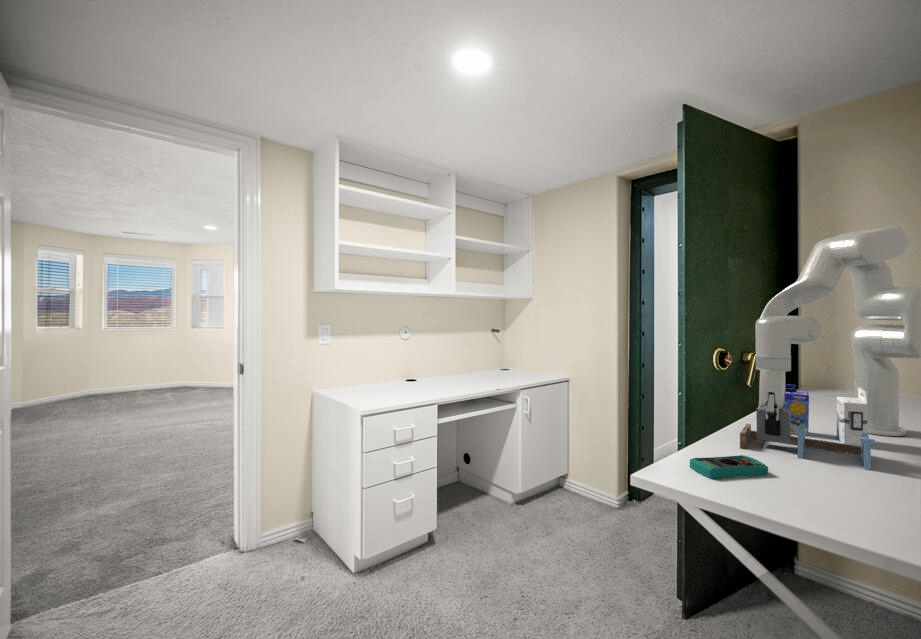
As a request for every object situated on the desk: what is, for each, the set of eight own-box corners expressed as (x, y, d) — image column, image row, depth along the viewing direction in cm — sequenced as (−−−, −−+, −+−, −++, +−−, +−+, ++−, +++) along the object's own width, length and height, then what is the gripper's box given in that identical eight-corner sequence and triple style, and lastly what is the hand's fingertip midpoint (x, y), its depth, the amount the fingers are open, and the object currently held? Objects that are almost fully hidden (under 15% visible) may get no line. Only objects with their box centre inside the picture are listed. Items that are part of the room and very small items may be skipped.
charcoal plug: (758, 434, 117) (758, 405, 117) (790, 439, 113) (790, 409, 113) (756, 438, 114) (756, 409, 114) (789, 443, 110) (789, 412, 109)
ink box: (835, 437, 122) (835, 385, 121) (858, 439, 119) (859, 386, 119) (843, 445, 114) (843, 390, 114) (868, 448, 112) (868, 392, 111)
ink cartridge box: (767, 431, 128) (767, 383, 128) (767, 427, 132) (767, 380, 132) (809, 436, 122) (809, 386, 122) (808, 432, 127) (808, 383, 126)
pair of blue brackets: (796, 445, 115) (796, 419, 115) (870, 456, 105) (871, 428, 105) (793, 457, 106) (794, 429, 106) (874, 470, 96) (875, 440, 96)
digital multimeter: (771, 477, 95) (771, 464, 95) (710, 481, 93) (709, 468, 93) (745, 465, 102) (745, 453, 102) (687, 469, 100) (687, 456, 100)
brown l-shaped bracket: (747, 436, 123) (747, 422, 123) (866, 454, 107) (866, 439, 107) (739, 448, 113) (739, 433, 113) (870, 470, 97) (870, 452, 97)
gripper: (759, 359, 122) (760, 423, 122) (751, 367, 109) (752, 438, 110) (793, 361, 117) (793, 427, 117) (788, 369, 104) (789, 443, 105)
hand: (773, 431), depth 113 cm, fingers closed on charcoal plug, 4 cm apart
